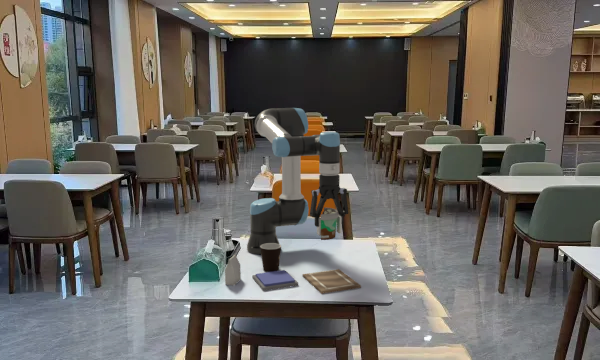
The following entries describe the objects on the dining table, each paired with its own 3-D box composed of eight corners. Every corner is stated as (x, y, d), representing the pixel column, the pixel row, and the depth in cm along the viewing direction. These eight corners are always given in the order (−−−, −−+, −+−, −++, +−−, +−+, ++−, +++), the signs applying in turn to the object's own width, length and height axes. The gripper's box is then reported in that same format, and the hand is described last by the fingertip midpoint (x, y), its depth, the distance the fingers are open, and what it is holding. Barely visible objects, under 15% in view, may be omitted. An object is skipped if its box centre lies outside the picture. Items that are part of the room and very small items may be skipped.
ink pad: (252, 278, 207) (252, 273, 206) (285, 273, 212) (285, 268, 211) (262, 290, 194) (262, 285, 193) (298, 285, 199) (298, 280, 198)
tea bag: (240, 279, 206) (240, 254, 204) (234, 285, 199) (233, 260, 198) (231, 278, 207) (231, 254, 205) (225, 284, 200) (224, 259, 198)
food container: (337, 241, 192) (337, 215, 191) (320, 241, 193) (320, 214, 192) (339, 232, 204) (339, 207, 203) (323, 232, 205) (324, 207, 204)
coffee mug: (275, 274, 211) (275, 250, 209) (256, 271, 214) (256, 247, 213) (288, 265, 221) (288, 242, 220) (270, 262, 225) (269, 240, 223)
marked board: (302, 276, 208) (302, 273, 208) (339, 271, 214) (339, 268, 214) (321, 293, 191) (321, 290, 191) (360, 287, 196) (360, 284, 196)
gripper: (307, 177, 188) (307, 238, 192) (358, 173, 195) (357, 233, 199) (300, 174, 195) (300, 233, 199) (349, 171, 202) (349, 228, 206)
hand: (329, 233), depth 199 cm, fingers closed on food container, 7 cm apart
